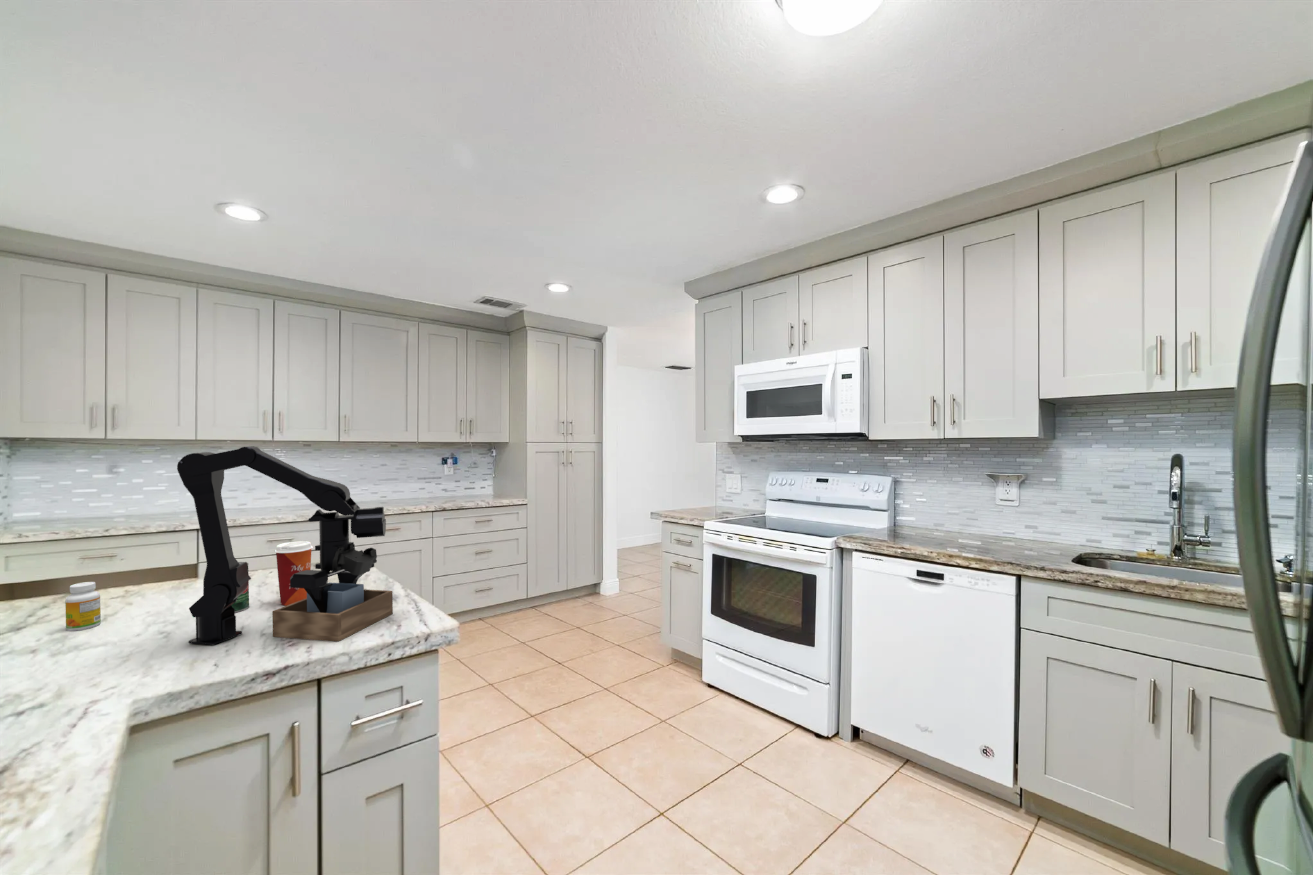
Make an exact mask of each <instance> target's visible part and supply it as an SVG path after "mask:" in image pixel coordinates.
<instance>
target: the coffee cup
mask: <svg viewBox="0 0 1313 875" xmlns="http://www.w3.org/2000/svg"><path fill="white" fill-rule="evenodd" d="M275 547H276V548H275V550H274V553H275V558H276V566H277V580H278V591H279V599H280V605H281V606H283V607H285V606H287V605H290V604H293V603H295V602H298V601H300V600H303V599H306V598H307V592H306V590H305V589H304V588H290V578H291V576H292V575H293V574H295V573H298V572H301V571H305V570H312V569H311V568H312V567H311V566H312V565H311V564H312V549H313V548H314V546H313V545H312V542H311V541H306V540H298V541H290V542H289V541H288V542H283V543H279V544H277V545H276V546H275Z"/></svg>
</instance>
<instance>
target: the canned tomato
mask: <svg viewBox="0 0 1313 875" xmlns="http://www.w3.org/2000/svg"><path fill="white" fill-rule="evenodd" d="M244 562H245V561H238V563H239V564H241V563H244ZM247 571H248V574H249V562H247ZM249 584H250V580H249V581H248V586H247V588H246V590H245V591H244V592H243V593H242V594H241V595H240V596H238V598H237V601H236V602H235V603H233V604H232V605H231V606H232V607H233V608H235V614H237V613H240V612H244V611H246V610H247V609H249V608H250V588H249V587H250V585H249Z"/></svg>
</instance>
